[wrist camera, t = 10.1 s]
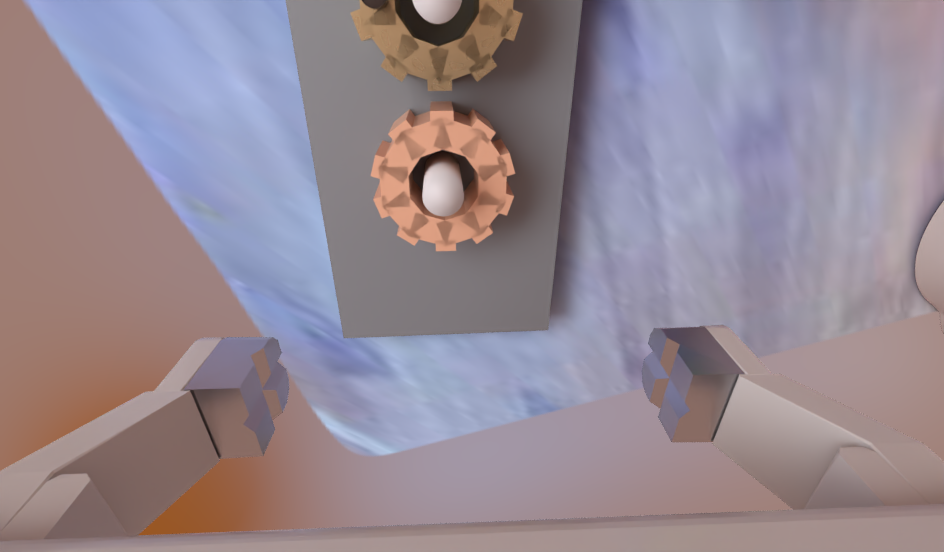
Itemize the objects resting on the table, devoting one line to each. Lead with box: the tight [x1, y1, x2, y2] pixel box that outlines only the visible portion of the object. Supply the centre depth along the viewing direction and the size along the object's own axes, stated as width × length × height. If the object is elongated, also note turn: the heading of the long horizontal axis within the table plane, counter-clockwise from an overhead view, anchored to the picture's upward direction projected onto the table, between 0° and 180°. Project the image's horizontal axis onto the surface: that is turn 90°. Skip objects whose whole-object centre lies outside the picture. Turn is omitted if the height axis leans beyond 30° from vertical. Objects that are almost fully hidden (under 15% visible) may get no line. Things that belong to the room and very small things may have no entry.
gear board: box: [286, 0, 582, 338], centre depth 22 cm, size 13×22×6 cm, turn 0°
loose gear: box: [371, 101, 515, 251], centre depth 22 cm, size 7×7×3 cm
